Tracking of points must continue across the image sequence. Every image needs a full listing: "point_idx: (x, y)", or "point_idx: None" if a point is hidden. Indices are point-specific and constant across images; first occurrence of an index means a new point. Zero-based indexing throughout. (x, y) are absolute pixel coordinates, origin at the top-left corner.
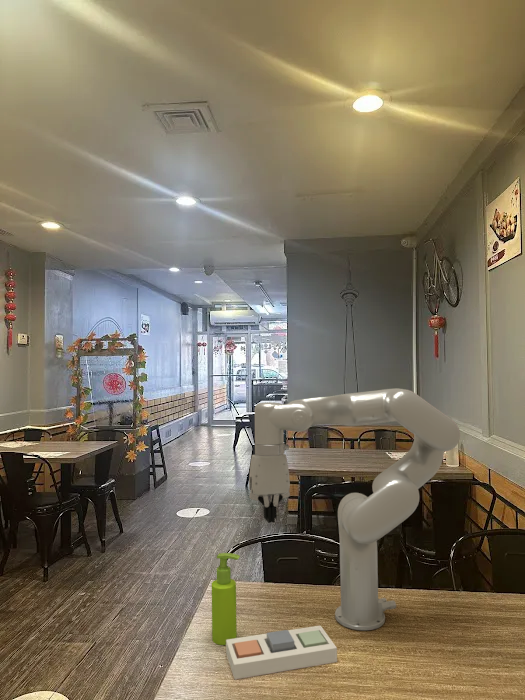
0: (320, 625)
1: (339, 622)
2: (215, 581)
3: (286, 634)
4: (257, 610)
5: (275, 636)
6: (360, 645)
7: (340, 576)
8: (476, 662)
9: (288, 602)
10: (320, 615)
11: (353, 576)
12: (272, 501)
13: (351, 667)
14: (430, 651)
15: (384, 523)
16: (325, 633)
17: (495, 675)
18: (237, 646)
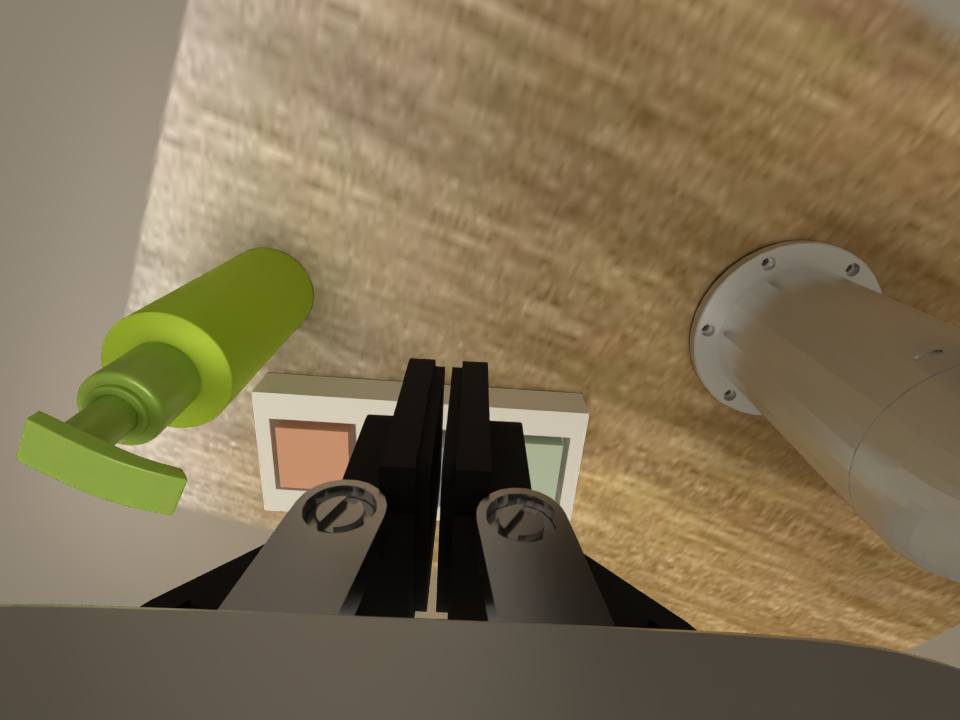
0: (588, 413)
1: (690, 342)
2: (118, 351)
3: (441, 470)
4: (437, 121)
5: None
6: (670, 460)
7: (807, 367)
8: (875, 597)
9: (596, 96)
10: (662, 258)
11: (821, 475)
12: (481, 607)
13: (585, 529)
14: (820, 536)
15: None
16: (578, 458)
17: (863, 637)
18: (282, 447)
